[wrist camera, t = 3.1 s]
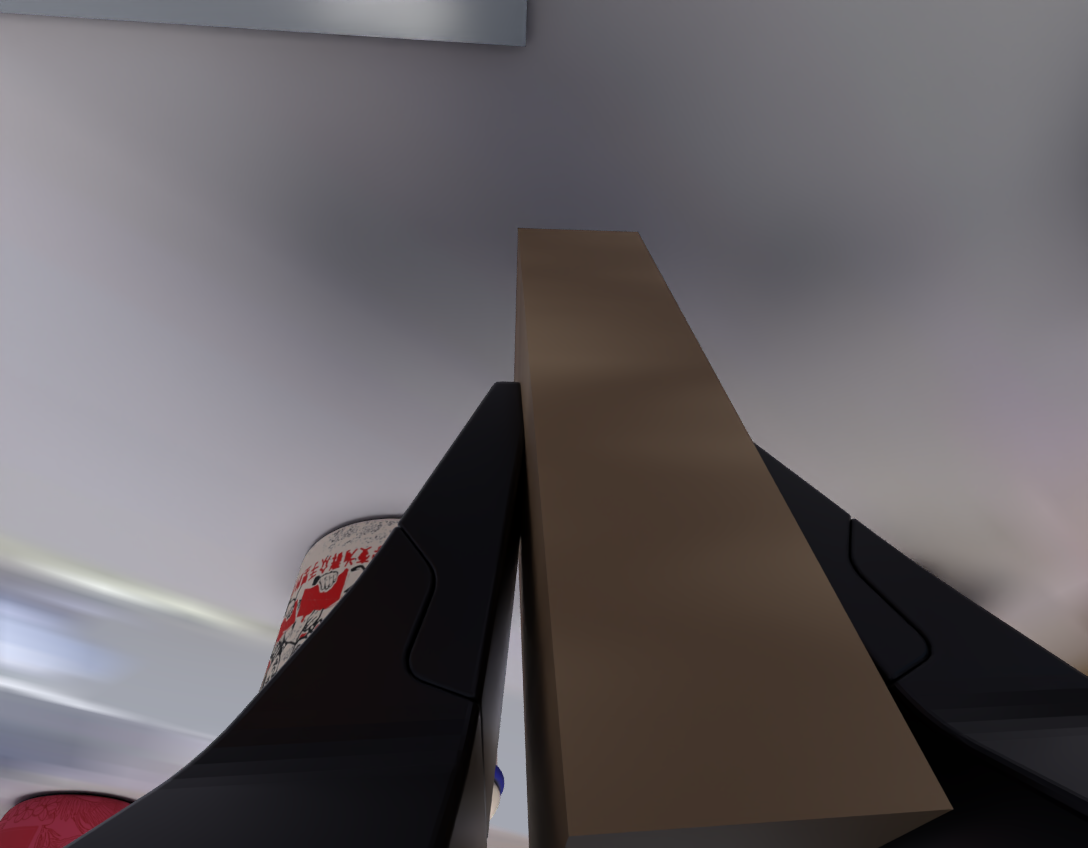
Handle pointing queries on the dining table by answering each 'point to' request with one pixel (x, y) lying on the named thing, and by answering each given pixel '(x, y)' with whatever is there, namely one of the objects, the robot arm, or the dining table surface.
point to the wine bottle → (55, 820)
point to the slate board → (313, 16)
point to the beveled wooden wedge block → (677, 595)
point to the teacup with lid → (335, 593)
